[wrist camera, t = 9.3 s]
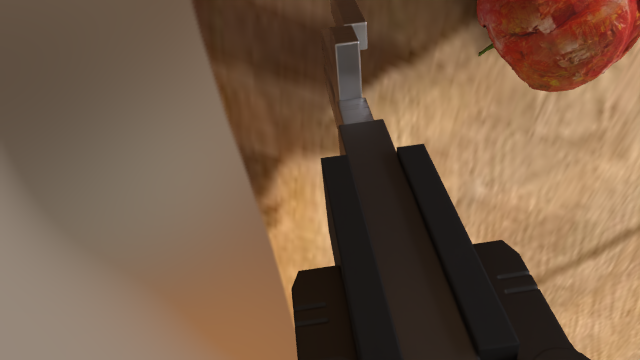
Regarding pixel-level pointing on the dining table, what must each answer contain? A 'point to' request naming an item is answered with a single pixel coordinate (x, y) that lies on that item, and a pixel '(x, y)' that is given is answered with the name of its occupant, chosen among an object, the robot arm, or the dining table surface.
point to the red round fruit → (560, 37)
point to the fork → (390, 205)
